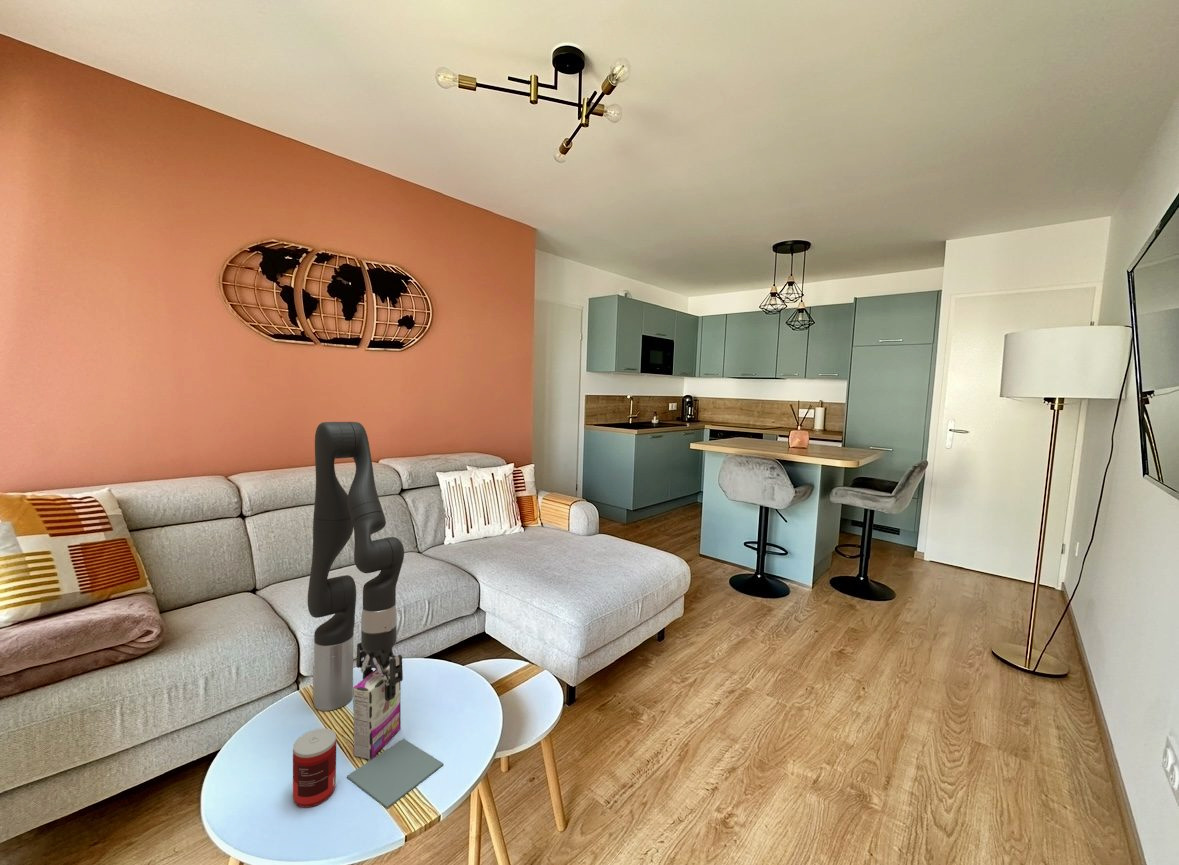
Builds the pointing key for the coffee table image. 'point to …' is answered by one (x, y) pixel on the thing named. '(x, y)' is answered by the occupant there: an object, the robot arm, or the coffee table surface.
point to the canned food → (314, 767)
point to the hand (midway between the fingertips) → (378, 692)
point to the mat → (394, 772)
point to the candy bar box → (374, 715)
